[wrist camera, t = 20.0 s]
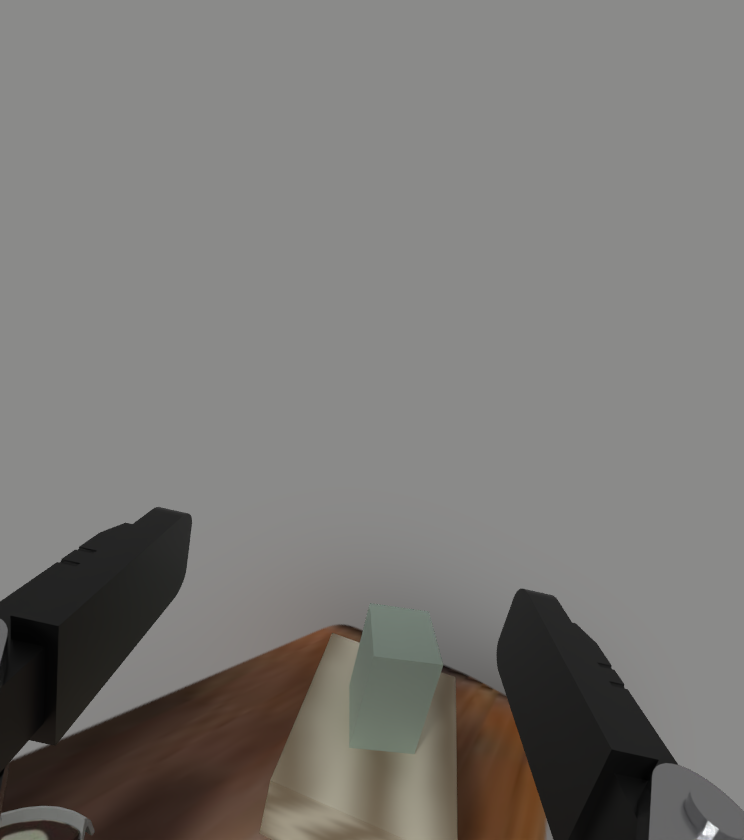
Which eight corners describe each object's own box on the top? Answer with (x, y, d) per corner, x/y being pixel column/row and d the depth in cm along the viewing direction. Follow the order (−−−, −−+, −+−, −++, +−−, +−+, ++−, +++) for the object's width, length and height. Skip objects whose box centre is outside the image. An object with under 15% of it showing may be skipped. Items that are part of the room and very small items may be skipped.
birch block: (258, 837, 29) (270, 780, 28) (322, 675, 44) (332, 632, 42) (435, 919, 27) (457, 862, 26) (441, 720, 41) (455, 677, 40)
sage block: (349, 747, 31) (373, 656, 29) (349, 684, 37) (369, 603, 34) (414, 754, 32) (443, 664, 29) (404, 691, 37) (428, 611, 35)
